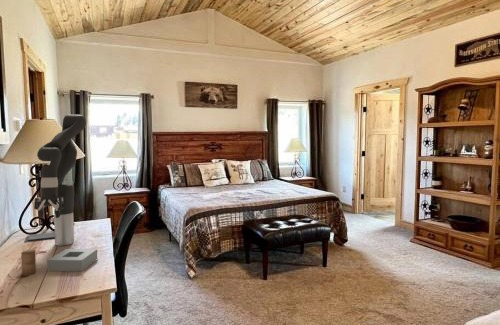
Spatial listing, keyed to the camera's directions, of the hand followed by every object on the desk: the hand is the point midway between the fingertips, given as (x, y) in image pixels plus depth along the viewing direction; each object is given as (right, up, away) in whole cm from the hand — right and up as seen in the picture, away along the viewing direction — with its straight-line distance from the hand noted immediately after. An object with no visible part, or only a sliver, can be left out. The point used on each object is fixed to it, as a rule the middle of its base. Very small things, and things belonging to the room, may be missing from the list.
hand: (49, 217), depth 168 cm
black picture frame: (-19, -17, +27) cm, 37 cm away
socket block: (+22, -19, -17) cm, 33 cm away
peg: (+8, -19, -27) cm, 34 cm away
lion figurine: (-21, -15, +50) cm, 56 cm away
